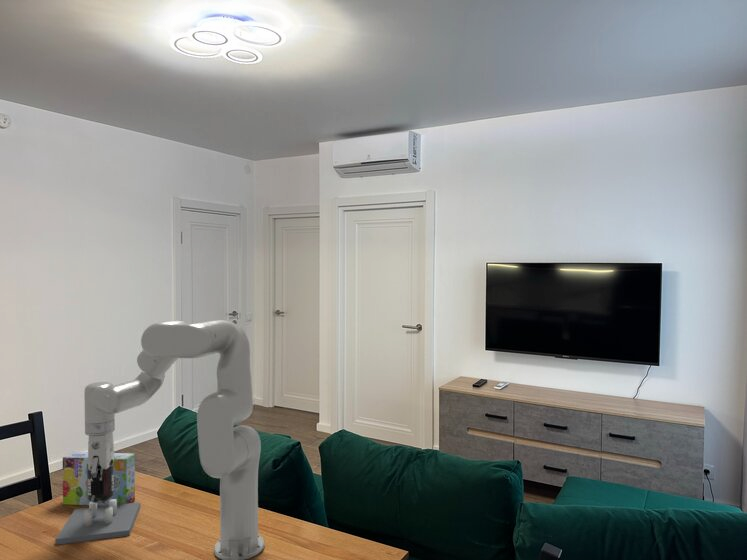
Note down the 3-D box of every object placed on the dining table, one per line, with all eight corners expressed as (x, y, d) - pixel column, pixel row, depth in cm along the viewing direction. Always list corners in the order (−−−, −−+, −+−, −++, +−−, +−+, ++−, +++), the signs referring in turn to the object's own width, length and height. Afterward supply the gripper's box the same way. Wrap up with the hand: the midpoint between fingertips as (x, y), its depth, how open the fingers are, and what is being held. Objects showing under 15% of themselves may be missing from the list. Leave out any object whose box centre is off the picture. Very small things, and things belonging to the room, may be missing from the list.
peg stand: (129, 535, 143) (129, 515, 143) (55, 544, 138) (55, 524, 138) (140, 506, 160) (140, 489, 160) (75, 514, 156) (74, 495, 155)
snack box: (136, 499, 165) (135, 452, 165) (126, 508, 160) (125, 459, 159) (73, 497, 167) (72, 450, 167) (61, 505, 162) (60, 456, 162)
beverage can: (90, 506, 144) (90, 463, 144) (84, 499, 149) (83, 457, 149) (117, 499, 149) (116, 457, 149) (110, 492, 154) (109, 451, 154)
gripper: (107, 434, 141) (108, 500, 142) (120, 417, 158) (121, 476, 158) (76, 437, 139) (77, 503, 140) (93, 419, 156) (94, 478, 156)
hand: (100, 488), depth 149 cm, fingers closed on beverage can, 6 cm apart
